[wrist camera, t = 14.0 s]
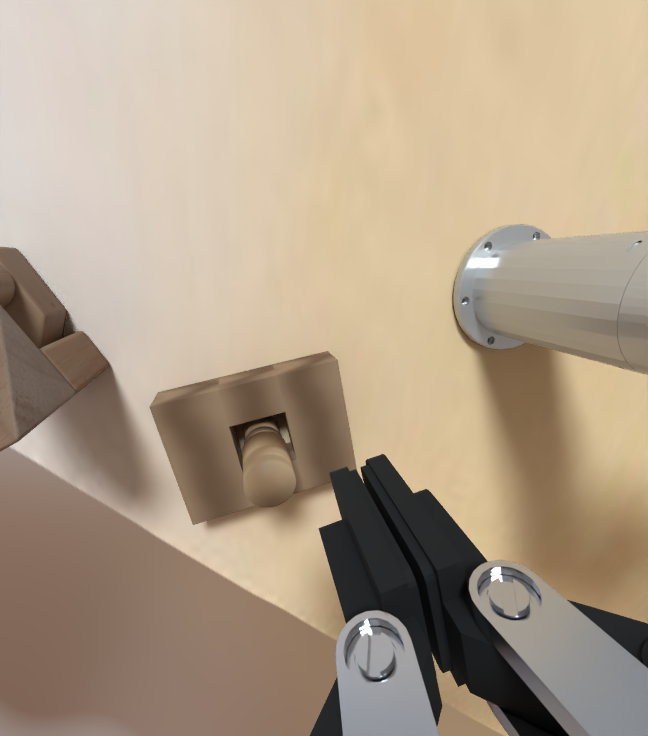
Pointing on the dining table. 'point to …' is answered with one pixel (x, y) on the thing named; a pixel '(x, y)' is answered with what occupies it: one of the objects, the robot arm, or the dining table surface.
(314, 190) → the dining table surface
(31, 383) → the brown jointed angular part
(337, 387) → the board
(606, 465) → the dining table surface
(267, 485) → the peg
